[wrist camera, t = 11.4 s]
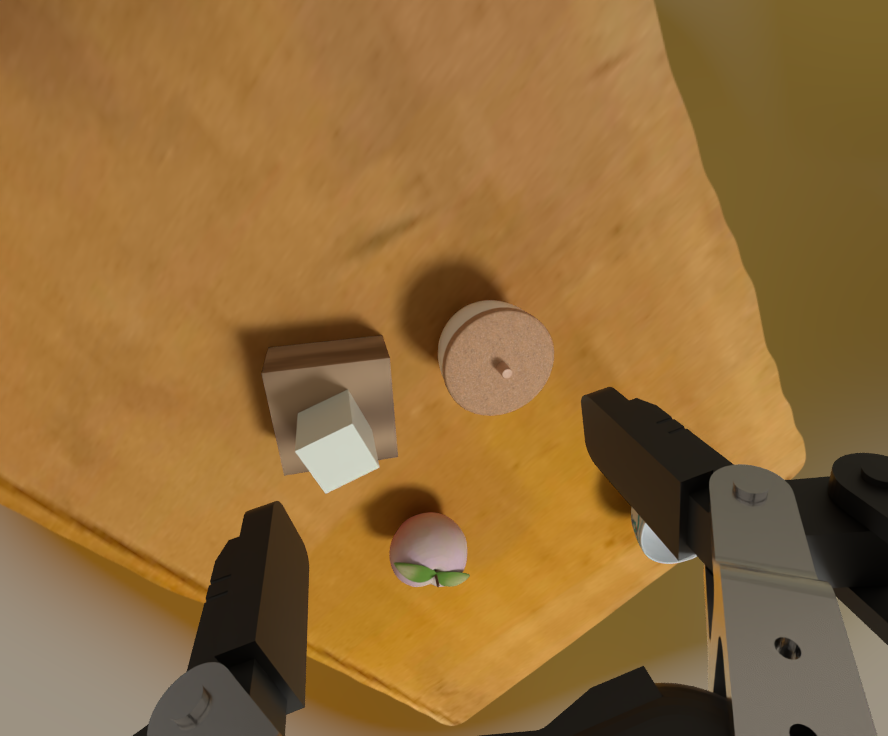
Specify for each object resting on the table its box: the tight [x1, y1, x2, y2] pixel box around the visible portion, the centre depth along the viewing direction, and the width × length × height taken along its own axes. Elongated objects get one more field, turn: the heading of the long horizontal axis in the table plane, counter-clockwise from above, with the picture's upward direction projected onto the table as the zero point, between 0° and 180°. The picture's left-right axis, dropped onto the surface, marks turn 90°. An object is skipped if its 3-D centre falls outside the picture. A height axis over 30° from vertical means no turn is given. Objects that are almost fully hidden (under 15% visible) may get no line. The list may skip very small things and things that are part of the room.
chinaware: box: [631, 507, 697, 564], centre depth 62 cm, size 15×15×8 cm
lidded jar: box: [438, 300, 554, 416], centre depth 44 cm, size 11×11×9 cm
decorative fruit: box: [390, 512, 470, 587], centre depth 53 cm, size 9×8×10 cm
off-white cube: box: [295, 390, 379, 493], centre depth 40 cm, size 5×5×6 cm
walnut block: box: [262, 335, 398, 476], centre depth 45 cm, size 11×11×6 cm
